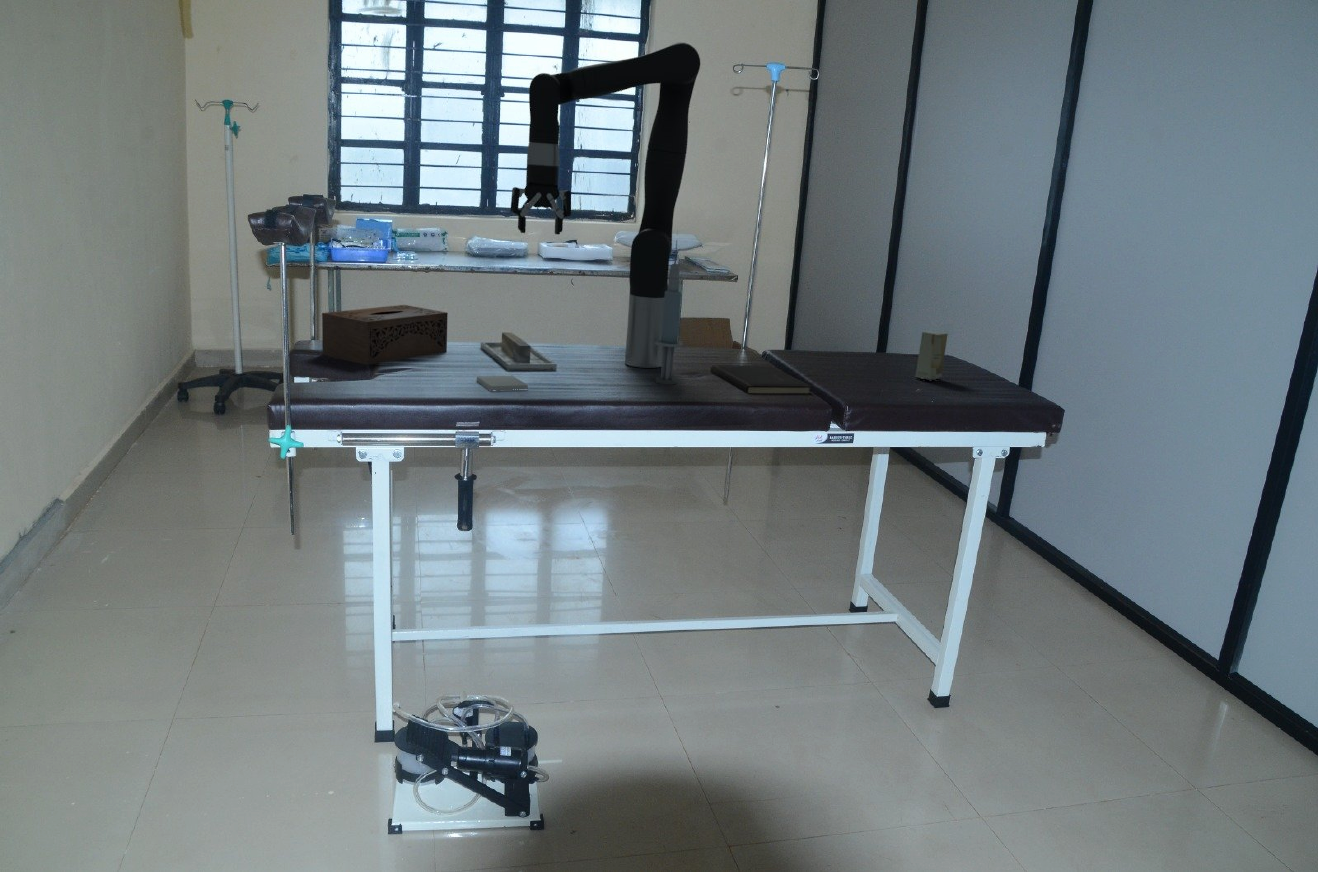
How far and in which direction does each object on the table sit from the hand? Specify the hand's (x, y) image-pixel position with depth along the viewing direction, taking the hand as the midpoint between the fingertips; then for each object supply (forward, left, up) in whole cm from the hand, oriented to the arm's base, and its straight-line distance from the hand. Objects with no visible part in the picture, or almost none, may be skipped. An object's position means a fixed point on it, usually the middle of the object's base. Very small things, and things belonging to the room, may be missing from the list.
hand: (540, 233), depth 244 cm
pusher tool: (+5, 0, -30) cm, 30 cm away
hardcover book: (-46, +31, -31) cm, 64 cm away
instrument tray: (+5, +2, -30) cm, 31 cm away
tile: (+16, +26, -30) cm, 43 cm away
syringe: (-23, +30, -30) cm, 48 cm away
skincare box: (-96, +30, -30) cm, 105 cm away
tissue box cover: (+35, -5, -31) cm, 47 cm away
